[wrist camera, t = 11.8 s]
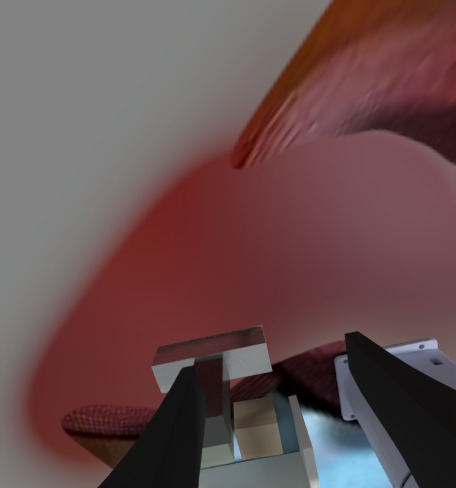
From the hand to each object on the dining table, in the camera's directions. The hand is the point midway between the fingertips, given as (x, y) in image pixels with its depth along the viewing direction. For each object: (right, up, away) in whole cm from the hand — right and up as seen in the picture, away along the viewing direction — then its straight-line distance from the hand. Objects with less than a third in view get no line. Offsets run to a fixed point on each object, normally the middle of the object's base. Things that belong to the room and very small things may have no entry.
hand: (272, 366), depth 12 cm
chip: (+1, -12, +15) cm, 19 cm away
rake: (-3, -4, +12) cm, 14 cm away
